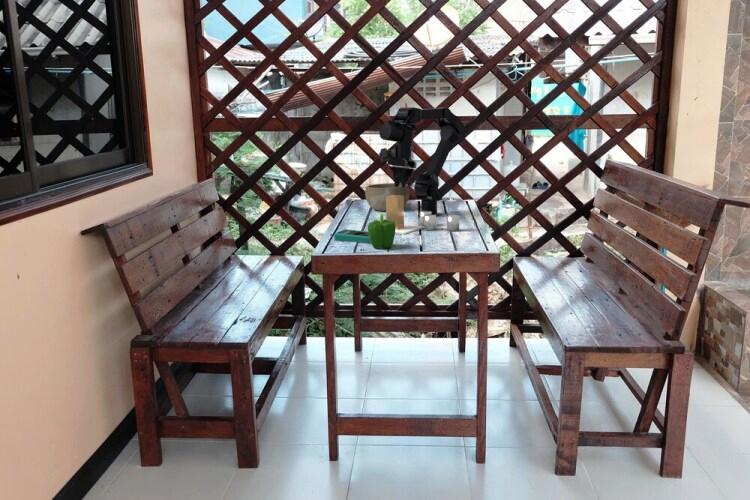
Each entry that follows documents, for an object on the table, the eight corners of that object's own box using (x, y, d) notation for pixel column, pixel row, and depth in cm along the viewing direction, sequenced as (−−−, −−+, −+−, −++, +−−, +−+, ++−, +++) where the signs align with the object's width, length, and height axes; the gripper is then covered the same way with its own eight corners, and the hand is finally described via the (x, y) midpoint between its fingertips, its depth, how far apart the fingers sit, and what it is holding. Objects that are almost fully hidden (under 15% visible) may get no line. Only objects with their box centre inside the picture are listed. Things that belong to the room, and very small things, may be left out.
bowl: (372, 205, 271) (371, 181, 269) (414, 206, 266) (413, 182, 264) (360, 213, 255) (359, 187, 253) (404, 214, 250) (404, 188, 248)
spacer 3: (451, 228, 221) (451, 214, 219) (461, 230, 218) (461, 215, 217) (445, 231, 218) (445, 216, 216) (455, 232, 215) (455, 217, 214)
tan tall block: (392, 226, 225) (392, 195, 222) (404, 227, 223) (403, 195, 220) (386, 228, 221) (385, 196, 219) (398, 229, 219) (397, 197, 216)
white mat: (390, 224, 232) (390, 222, 232) (423, 227, 224) (423, 226, 223) (370, 230, 222) (370, 228, 222) (404, 234, 214) (404, 232, 214)
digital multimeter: (374, 245, 202) (373, 236, 201) (333, 241, 209) (332, 232, 208) (384, 240, 208) (384, 231, 208) (345, 237, 215) (344, 228, 214)
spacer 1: (425, 224, 230) (425, 210, 229) (433, 225, 227) (433, 211, 226) (417, 225, 227) (417, 211, 226) (425, 227, 224) (425, 213, 223)
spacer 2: (428, 228, 223) (428, 213, 222) (438, 229, 221) (438, 214, 220) (422, 230, 220) (421, 215, 219) (432, 231, 218) (432, 216, 216)
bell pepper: (390, 251, 192) (389, 217, 190) (364, 249, 196) (363, 216, 193) (400, 244, 200) (399, 212, 198) (375, 243, 203) (374, 211, 201)
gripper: (390, 143, 241) (385, 185, 243) (375, 139, 223) (370, 184, 225) (419, 145, 238) (414, 188, 240) (406, 141, 220) (401, 187, 222)
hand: (399, 187), depth 232 cm, fingers open, 9 cm apart
